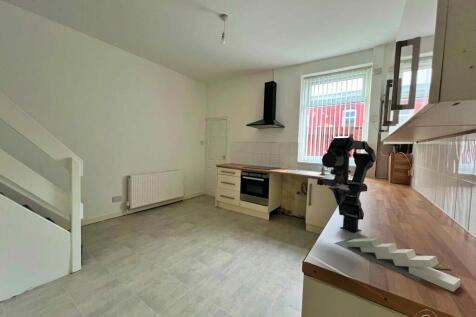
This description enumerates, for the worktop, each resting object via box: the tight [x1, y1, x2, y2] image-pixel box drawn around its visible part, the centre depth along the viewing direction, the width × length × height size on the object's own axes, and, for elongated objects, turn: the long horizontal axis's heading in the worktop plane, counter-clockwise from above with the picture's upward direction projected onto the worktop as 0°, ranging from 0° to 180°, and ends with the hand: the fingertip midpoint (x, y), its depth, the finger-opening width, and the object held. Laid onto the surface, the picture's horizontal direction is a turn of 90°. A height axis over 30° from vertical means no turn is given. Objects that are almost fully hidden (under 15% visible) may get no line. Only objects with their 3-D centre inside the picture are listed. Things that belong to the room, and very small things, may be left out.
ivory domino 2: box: [375, 248, 416, 260], centre depth 63 cm, size 5×2×9 cm
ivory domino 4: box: [409, 266, 461, 293], centre depth 55 cm, size 5×2×9 cm
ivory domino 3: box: [393, 255, 439, 268], centre depth 59 cm, size 5×2×9 cm
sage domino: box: [347, 237, 382, 247], centre depth 71 cm, size 5×2×9 cm
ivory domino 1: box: [360, 243, 398, 253], centre depth 67 cm, size 5×2×9 cm
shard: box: [415, 252, 451, 270], centre depth 66 cm, size 11×8×2 cm
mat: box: [334, 238, 422, 282], centre depth 67 cm, size 10×25×1 cm, turn 29°
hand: (339, 205), depth 83 cm, fingers closed
